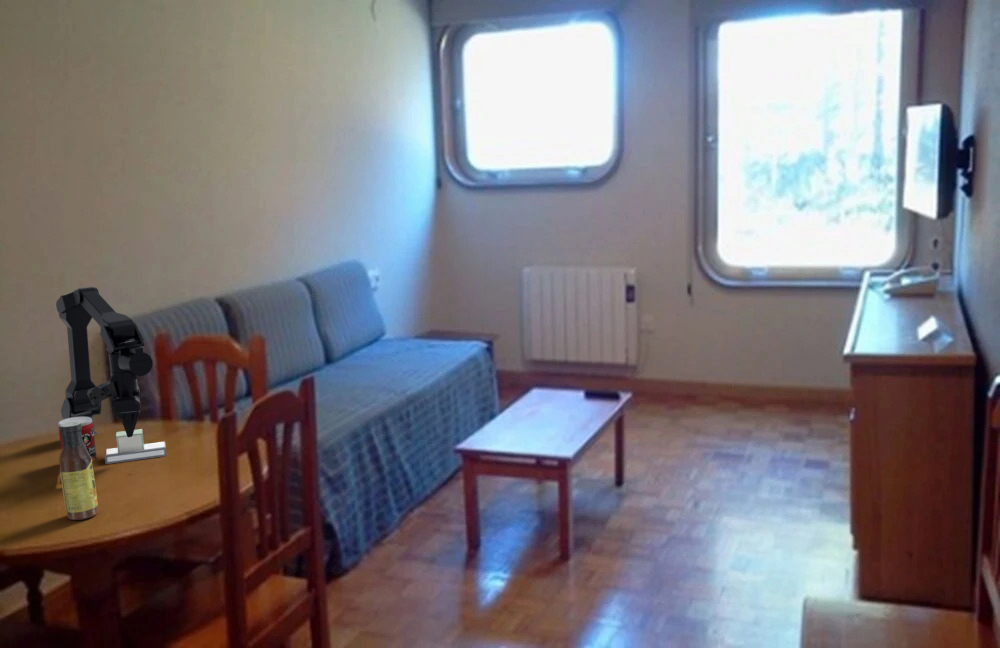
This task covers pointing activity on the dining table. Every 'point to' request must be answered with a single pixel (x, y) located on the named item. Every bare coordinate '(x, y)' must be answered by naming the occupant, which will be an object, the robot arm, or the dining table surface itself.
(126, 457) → the shelf
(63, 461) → the sauce bottle
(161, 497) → the dining table surface
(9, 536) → the dining table surface
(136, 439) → the carton
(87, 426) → the canned food
